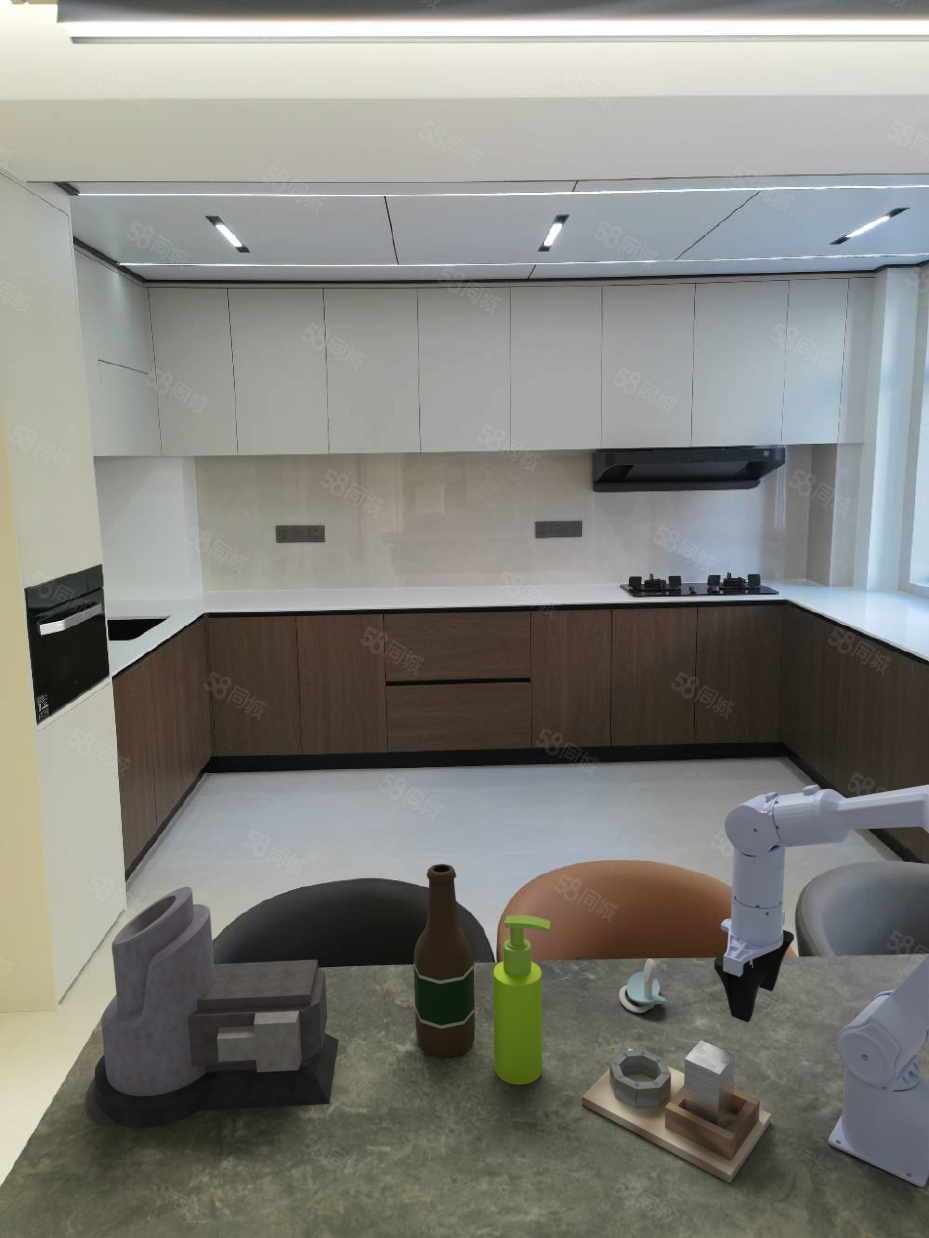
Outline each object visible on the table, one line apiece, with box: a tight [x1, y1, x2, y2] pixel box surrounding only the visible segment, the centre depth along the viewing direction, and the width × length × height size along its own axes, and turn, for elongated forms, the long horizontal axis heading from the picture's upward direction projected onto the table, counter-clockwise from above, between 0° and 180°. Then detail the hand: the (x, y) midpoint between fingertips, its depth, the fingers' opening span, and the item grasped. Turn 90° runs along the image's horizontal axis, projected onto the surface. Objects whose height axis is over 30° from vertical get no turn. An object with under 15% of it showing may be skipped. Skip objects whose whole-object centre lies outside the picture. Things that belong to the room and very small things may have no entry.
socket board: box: [581, 1048, 772, 1184], centre depth 98 cm, size 18×11×4 cm, turn 50°
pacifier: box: [618, 958, 666, 1014], centre depth 119 cm, size 7×6×6 cm
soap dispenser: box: [492, 914, 551, 1086], centre depth 104 cm, size 6×7×20 cm
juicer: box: [85, 886, 340, 1129], centre depth 104 cm, size 30×16×24 cm, turn 93°
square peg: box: [684, 1040, 736, 1130], centre depth 95 cm, size 4×4×8 cm
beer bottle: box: [413, 863, 476, 1060], centre depth 109 cm, size 8×8×24 cm
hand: (753, 1002), depth 103 cm, fingers open, 7 cm apart
